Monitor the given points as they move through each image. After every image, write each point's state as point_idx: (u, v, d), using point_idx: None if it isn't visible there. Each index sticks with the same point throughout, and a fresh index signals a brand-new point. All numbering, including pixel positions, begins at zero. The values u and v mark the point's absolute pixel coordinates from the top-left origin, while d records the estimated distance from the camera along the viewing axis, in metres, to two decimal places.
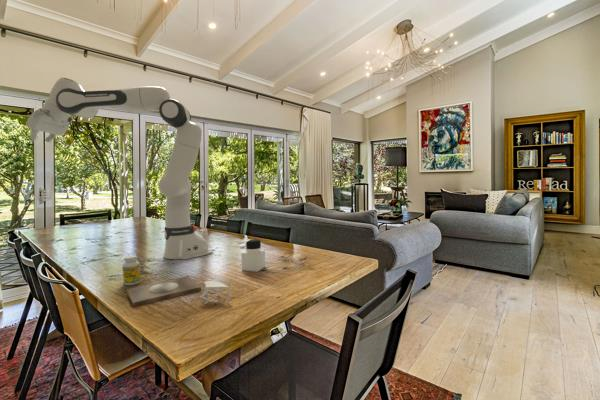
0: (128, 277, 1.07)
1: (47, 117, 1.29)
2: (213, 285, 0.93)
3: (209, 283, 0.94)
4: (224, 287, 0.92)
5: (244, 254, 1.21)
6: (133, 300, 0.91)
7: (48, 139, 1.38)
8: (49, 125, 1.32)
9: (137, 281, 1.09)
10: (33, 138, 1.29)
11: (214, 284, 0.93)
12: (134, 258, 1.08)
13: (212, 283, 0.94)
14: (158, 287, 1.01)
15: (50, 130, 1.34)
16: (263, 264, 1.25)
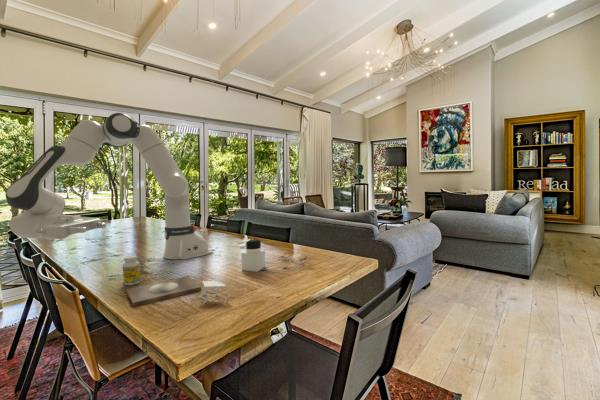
0: (128, 277, 1.07)
1: (51, 224, 1.04)
2: (211, 284, 0.93)
3: (207, 283, 0.95)
4: (223, 286, 0.92)
5: (244, 254, 1.21)
6: (133, 300, 0.91)
7: (100, 225, 1.13)
8: (68, 223, 1.07)
9: (137, 281, 1.09)
10: (81, 228, 1.04)
11: (213, 283, 0.94)
12: (134, 258, 1.08)
13: (210, 282, 0.95)
14: (158, 287, 1.01)
15: (78, 222, 1.09)
16: (263, 264, 1.25)
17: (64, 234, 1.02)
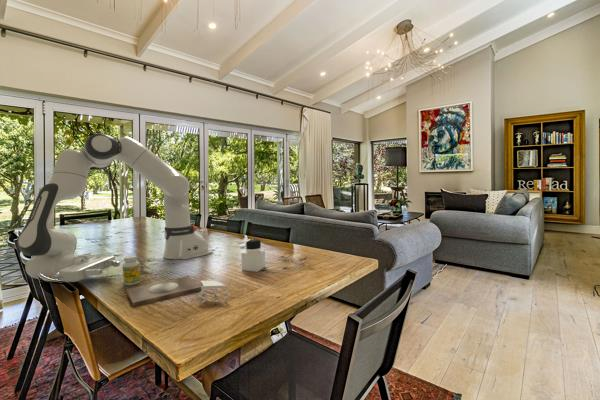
0: (128, 277, 1.07)
1: (67, 267, 1.05)
2: (210, 284, 0.94)
3: (206, 282, 0.95)
4: (221, 286, 0.93)
5: (244, 254, 1.21)
6: (133, 300, 0.91)
7: (114, 263, 1.14)
8: (83, 264, 1.08)
9: (137, 281, 1.09)
10: (97, 271, 1.05)
11: (212, 283, 0.94)
12: (134, 258, 1.08)
13: (209, 282, 0.95)
14: (158, 287, 1.01)
15: (93, 262, 1.10)
16: (263, 264, 1.25)
17: (81, 278, 1.03)
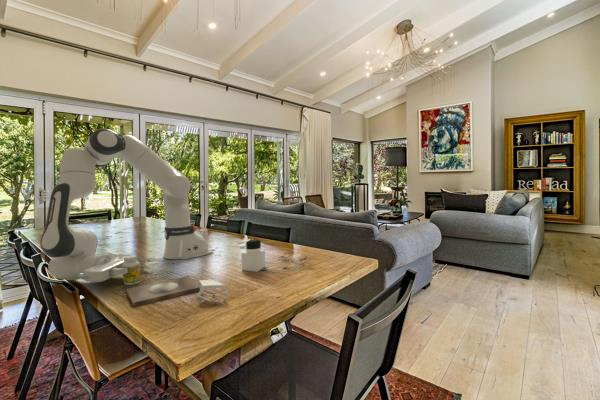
0: (128, 277, 1.07)
1: (91, 267, 1.04)
2: (208, 283, 0.94)
3: (204, 282, 0.95)
4: (220, 285, 0.93)
5: (244, 254, 1.21)
6: (133, 300, 0.91)
7: None
8: (107, 264, 1.07)
9: (137, 281, 1.09)
10: (124, 269, 1.05)
11: (210, 283, 0.95)
12: (134, 258, 1.08)
13: (207, 282, 0.95)
14: (158, 287, 1.01)
15: (117, 262, 1.09)
16: (263, 264, 1.25)
17: (106, 278, 1.02)
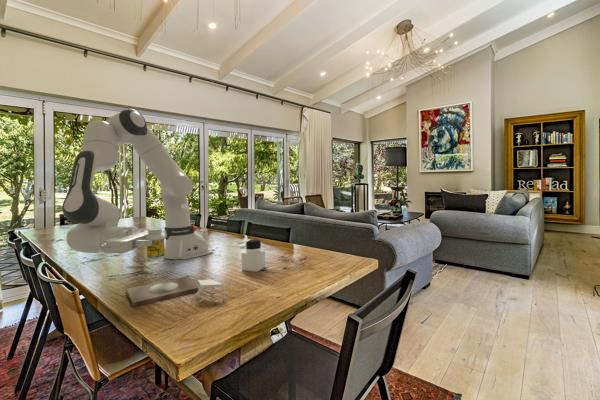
0: (153, 251, 0.98)
1: (113, 238, 0.95)
2: (207, 283, 0.95)
3: (203, 281, 0.96)
4: (219, 285, 0.94)
5: (244, 254, 1.21)
6: (133, 300, 0.91)
7: None
8: (130, 236, 0.98)
9: (161, 256, 1.00)
10: (149, 241, 0.96)
11: (209, 282, 0.95)
12: (159, 230, 0.99)
13: (206, 281, 0.96)
14: (158, 287, 1.01)
15: (140, 235, 1.00)
16: (263, 264, 1.25)
17: (129, 249, 0.93)
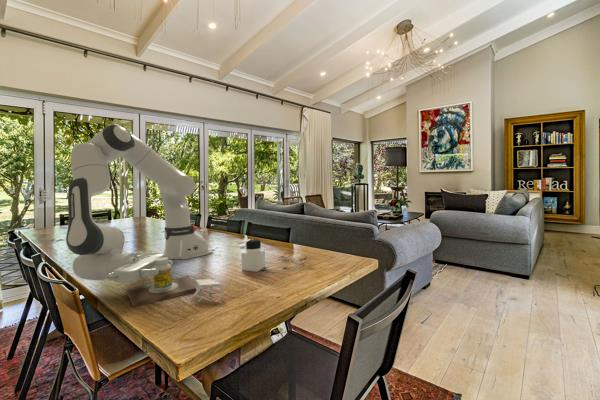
0: (160, 281, 0.98)
1: (120, 267, 0.95)
2: (205, 282, 0.95)
3: (201, 281, 0.96)
4: (217, 284, 0.94)
5: (244, 254, 1.21)
6: (133, 300, 0.91)
7: None
8: (137, 263, 0.98)
9: (169, 285, 1.00)
10: (154, 270, 0.95)
11: (207, 282, 0.96)
12: (166, 260, 0.99)
13: (204, 281, 0.96)
14: None
15: (147, 262, 1.00)
16: (263, 264, 1.25)
17: (137, 278, 0.93)
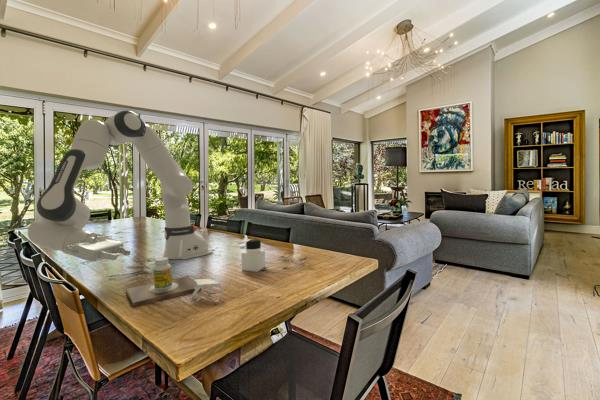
0: (160, 281, 0.98)
1: (81, 242, 0.98)
2: (204, 282, 0.95)
3: (199, 281, 0.96)
4: (216, 284, 0.94)
5: (244, 254, 1.21)
6: (133, 300, 0.91)
7: (125, 252, 1.09)
8: (97, 244, 1.02)
9: (169, 285, 1.00)
10: (113, 256, 0.99)
11: (205, 281, 0.96)
12: (166, 260, 0.99)
13: (202, 281, 0.97)
14: None
15: (106, 245, 1.04)
16: (263, 264, 1.25)
17: (95, 258, 0.96)
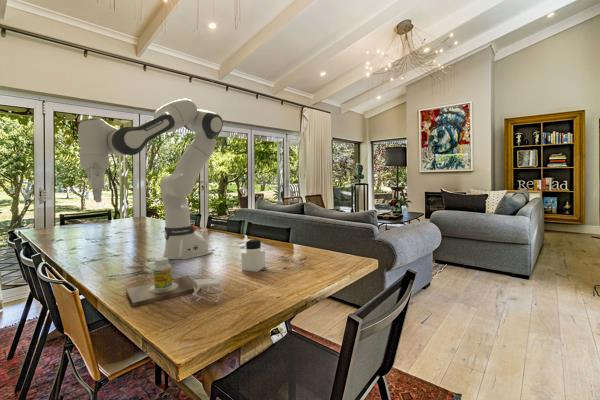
0: (160, 281, 0.98)
1: None
2: (203, 282, 0.95)
3: (199, 281, 0.96)
4: (216, 283, 0.95)
5: (244, 254, 1.21)
6: (133, 300, 0.91)
7: None
8: None
9: (169, 285, 1.00)
10: (100, 200, 1.09)
11: (205, 281, 0.96)
12: (166, 260, 0.99)
13: (202, 281, 0.97)
14: None
15: None
16: (263, 264, 1.25)
17: None
